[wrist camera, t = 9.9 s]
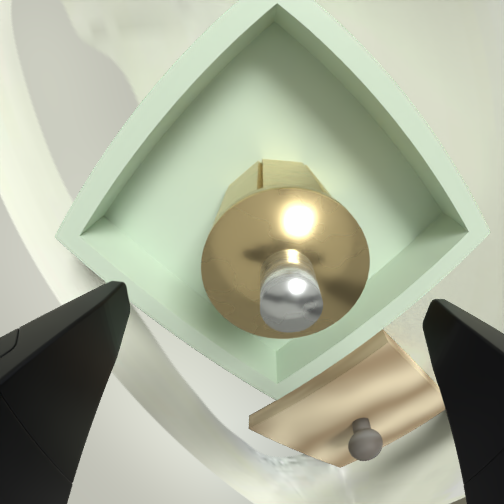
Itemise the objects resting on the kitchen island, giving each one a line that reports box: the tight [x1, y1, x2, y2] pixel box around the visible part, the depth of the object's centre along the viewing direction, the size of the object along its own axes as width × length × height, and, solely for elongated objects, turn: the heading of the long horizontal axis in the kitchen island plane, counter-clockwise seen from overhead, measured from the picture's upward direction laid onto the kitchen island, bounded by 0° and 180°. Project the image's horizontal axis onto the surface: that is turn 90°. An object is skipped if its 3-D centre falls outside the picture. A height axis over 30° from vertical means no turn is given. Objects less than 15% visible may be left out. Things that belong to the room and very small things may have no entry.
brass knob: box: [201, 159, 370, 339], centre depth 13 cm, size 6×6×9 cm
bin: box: [55, 0, 490, 400], centre depth 16 cm, size 16×16×4 cm
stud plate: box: [249, 329, 445, 468], centre depth 23 cm, size 14×14×6 cm
